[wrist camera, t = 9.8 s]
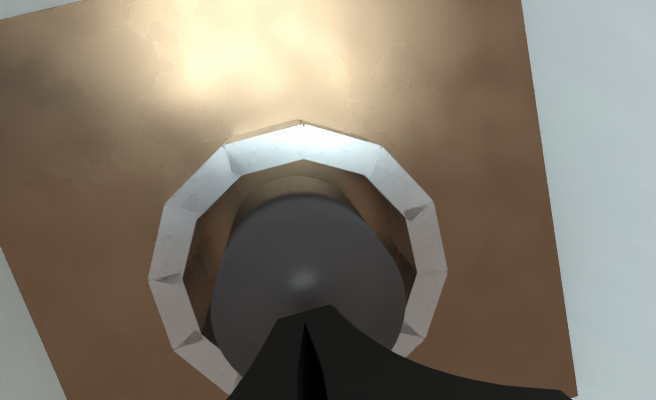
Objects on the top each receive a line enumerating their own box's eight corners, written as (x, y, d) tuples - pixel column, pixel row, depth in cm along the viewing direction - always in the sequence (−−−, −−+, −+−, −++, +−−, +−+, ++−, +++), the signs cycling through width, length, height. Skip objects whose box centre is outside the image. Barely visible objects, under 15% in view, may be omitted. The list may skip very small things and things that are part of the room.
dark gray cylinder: (250, 318, 19) (241, 420, 13) (213, 195, 18) (185, 245, 12) (375, 284, 19) (421, 368, 13) (346, 161, 18) (384, 193, 12)
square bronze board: (131, 517, 21) (101, 608, 17) (-72, 44, 16) (-173, 29, 12) (567, 385, 22) (626, 443, 18) (495, -93, 17) (557, -144, 14)
